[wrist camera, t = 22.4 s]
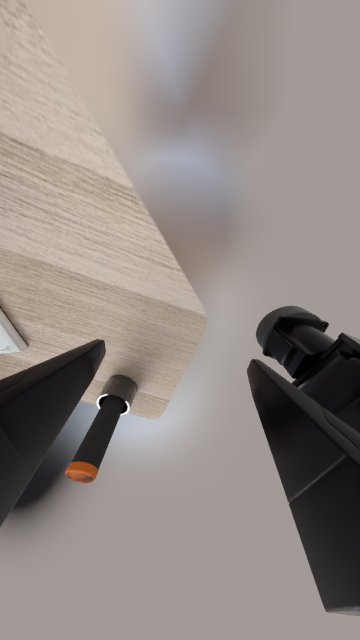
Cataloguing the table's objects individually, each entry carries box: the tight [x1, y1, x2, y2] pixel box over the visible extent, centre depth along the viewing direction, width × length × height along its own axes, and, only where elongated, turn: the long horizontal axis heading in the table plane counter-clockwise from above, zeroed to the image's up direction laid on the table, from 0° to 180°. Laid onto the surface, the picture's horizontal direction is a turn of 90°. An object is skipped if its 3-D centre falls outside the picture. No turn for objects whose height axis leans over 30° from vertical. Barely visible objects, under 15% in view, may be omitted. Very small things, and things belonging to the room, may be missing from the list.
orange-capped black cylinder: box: [65, 396, 125, 483], centre depth 24 cm, size 4×4×12 cm
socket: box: [96, 375, 137, 416], centre depth 28 cm, size 6×6×4 cm
